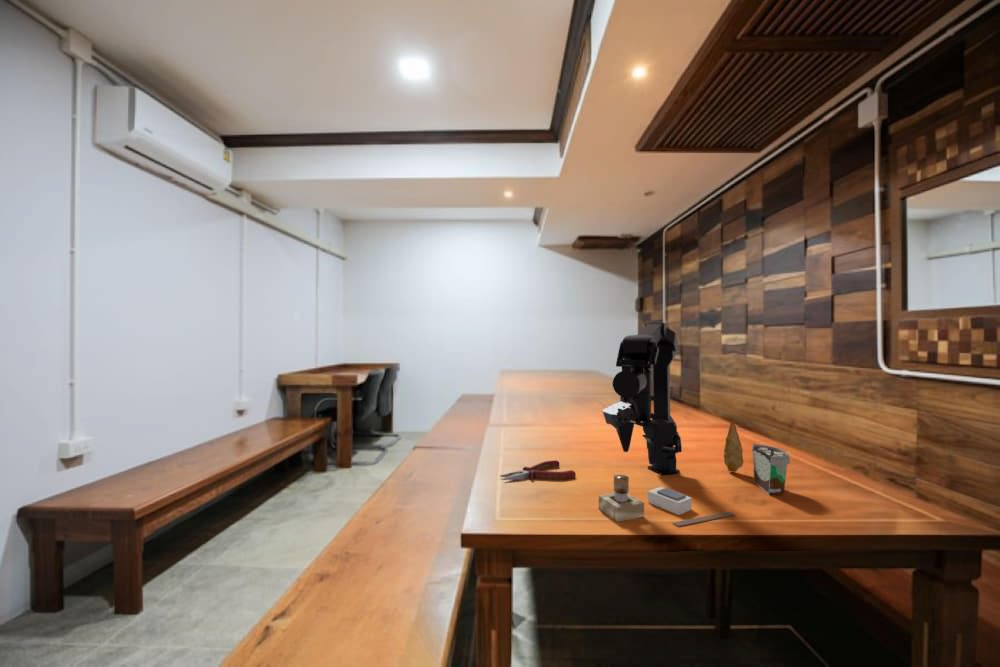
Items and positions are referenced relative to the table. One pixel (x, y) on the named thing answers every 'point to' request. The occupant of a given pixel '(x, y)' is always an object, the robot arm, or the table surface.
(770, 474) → the food container
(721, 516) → the bar
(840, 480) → the table surface
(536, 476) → the pliers
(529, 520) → the table surface
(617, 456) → the table surface
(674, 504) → the stud finder
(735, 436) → the stone tool
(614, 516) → the socket block
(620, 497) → the flashlight
